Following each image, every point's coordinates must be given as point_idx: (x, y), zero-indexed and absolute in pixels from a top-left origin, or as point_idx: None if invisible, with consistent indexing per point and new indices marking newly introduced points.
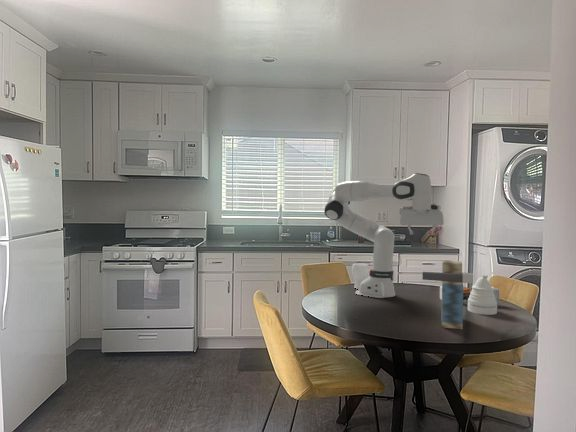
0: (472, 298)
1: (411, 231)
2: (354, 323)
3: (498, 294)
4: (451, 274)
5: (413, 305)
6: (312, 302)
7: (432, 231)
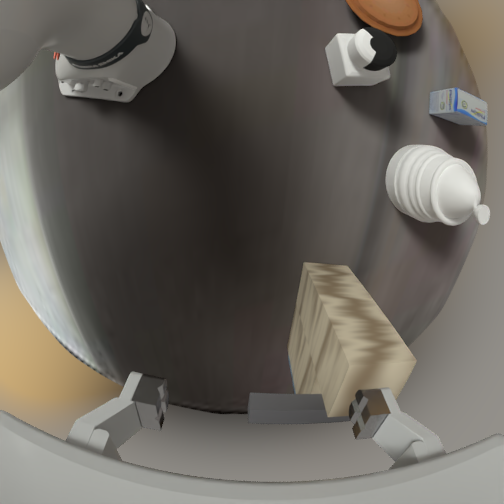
0: (410, 201)
1: (145, 423)
2: (119, 357)
3: (477, 124)
4: (334, 420)
5: (232, 159)
6: (4, 225)
7: (374, 435)
